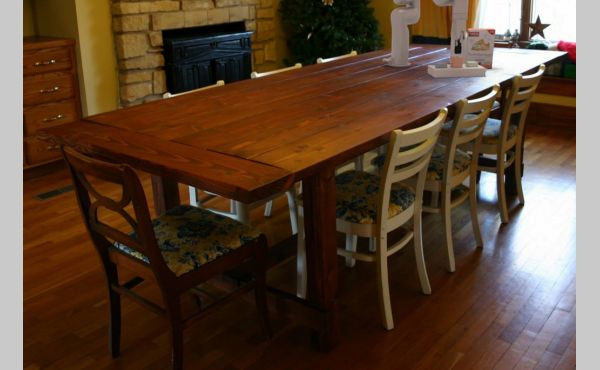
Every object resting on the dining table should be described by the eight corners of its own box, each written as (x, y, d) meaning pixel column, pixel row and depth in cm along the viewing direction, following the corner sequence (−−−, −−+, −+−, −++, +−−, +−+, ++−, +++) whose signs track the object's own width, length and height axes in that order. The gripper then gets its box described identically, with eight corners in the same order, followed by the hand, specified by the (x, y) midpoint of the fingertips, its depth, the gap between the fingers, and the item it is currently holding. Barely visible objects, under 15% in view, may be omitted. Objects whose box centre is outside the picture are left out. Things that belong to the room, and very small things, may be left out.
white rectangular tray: (434, 77, 314) (435, 69, 312) (427, 73, 327) (427, 65, 326) (485, 76, 315) (485, 68, 314) (476, 71, 328) (476, 63, 327)
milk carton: (449, 63, 355) (451, 29, 349) (459, 62, 358) (461, 28, 352) (457, 65, 349) (459, 30, 343) (467, 64, 352) (470, 29, 346)
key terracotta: (453, 67, 317) (453, 57, 316) (450, 66, 322) (451, 56, 320) (462, 67, 318) (463, 57, 316) (459, 65, 322) (460, 56, 320)
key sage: (468, 72, 319) (468, 63, 317) (465, 71, 323) (465, 61, 322) (477, 72, 319) (478, 62, 317) (474, 70, 324) (474, 61, 322)
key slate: (437, 73, 318) (438, 63, 316) (434, 72, 322) (435, 62, 321) (446, 73, 318) (447, 63, 316) (444, 71, 323) (444, 62, 321)
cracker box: (465, 68, 337) (468, 29, 330) (464, 67, 343) (467, 28, 336) (492, 68, 335) (495, 29, 328) (490, 67, 341) (494, 27, 334)
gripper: (448, 15, 318) (446, 52, 324) (457, 17, 304) (454, 55, 310) (462, 15, 318) (460, 51, 324) (472, 17, 304) (469, 55, 310)
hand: (457, 53), depth 317 cm, fingers closed
